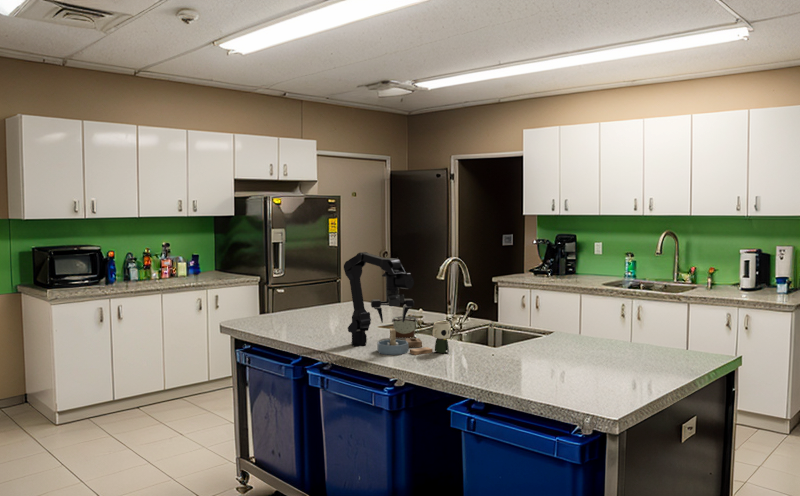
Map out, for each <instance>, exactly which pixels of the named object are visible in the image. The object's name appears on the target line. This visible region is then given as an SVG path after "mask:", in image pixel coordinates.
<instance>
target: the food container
mask: <svg viewBox="0 0 800 496" xmlns="http://www.w3.org/2000/svg"><path fill="white" fill-rule="evenodd" d="M417 320H418V319H417V317H415V316H410V315H406V316H405V319H404V322H402V315H401V316H394V317H392V320H391V323H393V324H392V325H393V329H395V330H396V339H410V337H414V338H415V333H416V332H415V331H416V323H418V321H417Z"/></svg>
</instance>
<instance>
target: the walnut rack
mask: <svg viewBox="0 0 800 496" xmlns="http://www.w3.org/2000/svg"><path fill="white" fill-rule="evenodd" d="M404 341H407V342H408V345H409V348H410V349H412V348H423V341H422V340H421V339H420V337H416V338H415V337H414V338H404Z"/></svg>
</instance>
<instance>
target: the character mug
mask: <svg viewBox="0 0 800 496" xmlns="http://www.w3.org/2000/svg"><path fill="white" fill-rule="evenodd" d="M451 327H452V326H451V323H450V322H447V321H436V322H434V323H433V328H432V336H433V338H435V344H434V351H435V352H437V353H439V354H440V353H441V354H442V353H445V354H446V353H448V352H449V351H450V349H449V347H450V346H449V341H448V339H449V338H450V337H451V332H452V331H451V330H452V328H451Z"/></svg>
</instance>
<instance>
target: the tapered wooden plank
mask: <svg viewBox="0 0 800 496" xmlns="http://www.w3.org/2000/svg"><path fill="white" fill-rule="evenodd" d="M433 351H434V350H433V348H431V347H427V346H425V347H416V348H410V349H409V354H411V355H414V356H418V355H425V354H432V353H434V352H433Z"/></svg>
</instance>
